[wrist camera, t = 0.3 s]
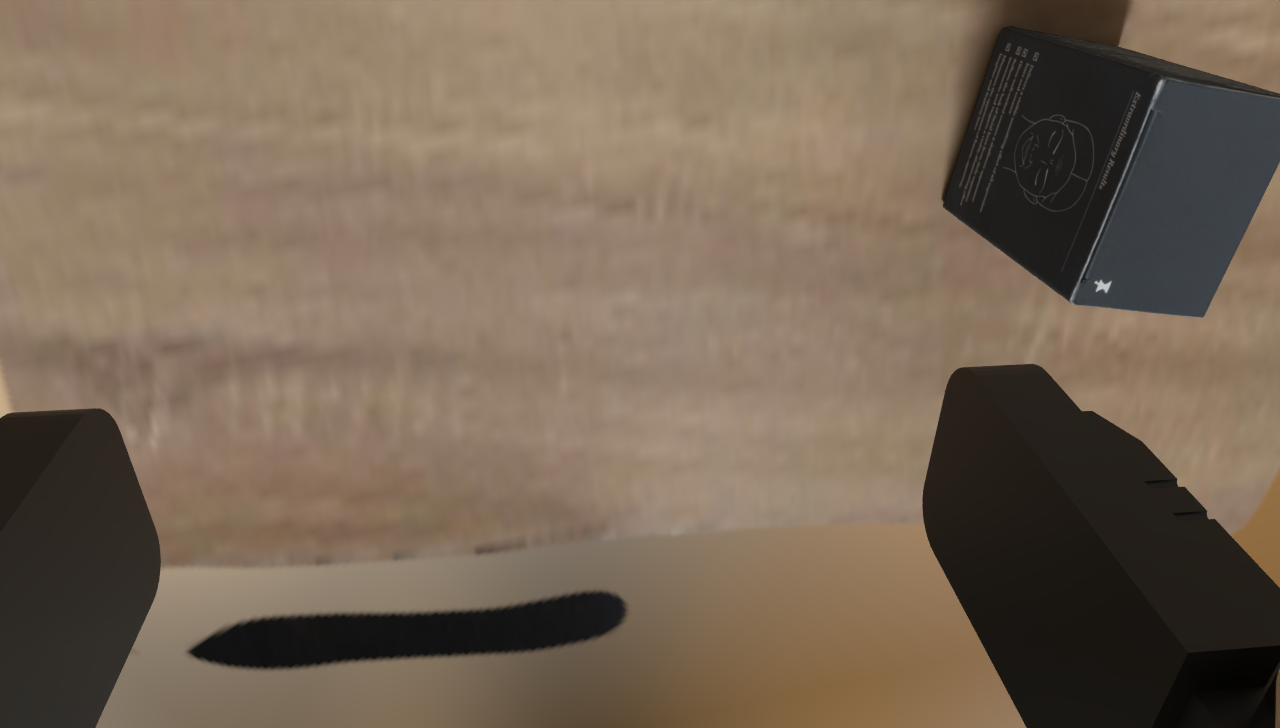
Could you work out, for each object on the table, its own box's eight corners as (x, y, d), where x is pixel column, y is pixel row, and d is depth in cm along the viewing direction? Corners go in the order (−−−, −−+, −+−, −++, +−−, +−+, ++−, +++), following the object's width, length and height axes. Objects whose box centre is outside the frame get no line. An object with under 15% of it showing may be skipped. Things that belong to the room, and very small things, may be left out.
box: (1050, 221, 42) (1206, 324, 32) (937, 206, 41) (1064, 308, 31) (1122, 43, 38) (1319, 102, 29) (1000, 21, 37) (1164, 75, 28)
